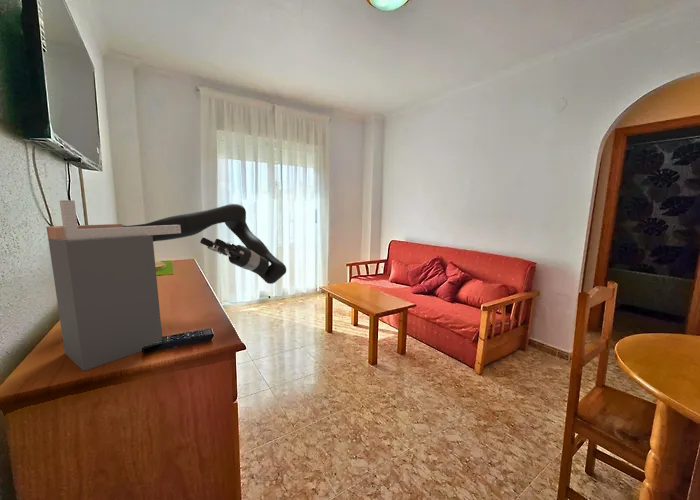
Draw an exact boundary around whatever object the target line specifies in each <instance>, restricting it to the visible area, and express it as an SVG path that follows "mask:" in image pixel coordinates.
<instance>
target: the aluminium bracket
mask: <svg viewBox="0 0 700 500" xmlns="http://www.w3.org/2000/svg"><path fill="white" fill-rule="evenodd" d="M59 206H60V214H61V220H62V226H63V230H64V237H65V240H67V241H72V240H87V239H102V238H117V237H132V236H147V235H161V234H176V233H181V227H180V225H161V226H138V227H115V228H93V229H78V225H79V224H78V219H77V218H78V216H77V210H76V202H75V200H71V199H69V200H68V199H67V200H66V199H65V200H64V199H63V200H62V199H61V200H59Z"/></svg>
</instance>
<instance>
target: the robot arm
mask: <svg viewBox="0 0 700 500" xmlns="http://www.w3.org/2000/svg"><path fill="white" fill-rule="evenodd" d="M246 220H247V211H246V208H245V207H244V205H241V204H239V203H230V204H225V205H223V206H218V207H215V208H211V209H207V210H202V211H201V210H200V211H195V212H189V213H184V214H178V215H173V216H167V217H164V218H160V219H157V220H153V221H150V222H147V223H146V222H145V223H141V224H132V225H124V224H122V226H123V227H138V226H161V225H180V227H181V233H176V234H161V235H150V236H153V243H154V242H160V241H168V240H175V239H181V238H186V237H190V236H191V237H192V236H195V235H197V234H199V233H201V232H203V231H205V230H206V229H208V228H210V227H212V226H214V225H218V224H222V223H224V225H226V227H227V228H228V229H229V230H230V231H231V232H232V233H233V234H234V235H235V236H236V237H237V238H238V239H239V241H241V243H242V244H243V245H244V246H243V245H242V244H235V243H229V242H225V240H221V239H219V238H215V240H214V241H212V240H211V239H208V238H206V237H202V238H201V239H200V242H199V243H200V244H201V245H204V246H206V247H207V249H208V250H211V251H214V252H216V253H218V254H219V255H223V256H226V257H228V261H229V262H230V263H231V264H232V265H235V266H237V267H239V268H240V269H244V270H246V271H250V272H252V273H254V274H256V275H258V276H259V277H260V278H261V279H262V280H263V281H264V282H265V283H267V284H269V285H273V284H275V283H277V281H279V280H280V279H281V278H282V277H283V276H284V275H286V273H287V267H286V265H285V264H284V262H283V261H281V260H279V259H278V258H277V257H275V256H274V255H273V254H272V252H270V250H269V249H268V247H267V245H266V244H265V243H264V242H263V241H262V240H261V239H260V238H259V237H257V236H256V235H255V234H253V232H252V231H251V230H250V228H249V226H248V224H247V221H246Z"/></svg>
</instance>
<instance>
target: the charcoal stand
mask: <svg viewBox="0 0 700 500" xmlns="http://www.w3.org/2000/svg"><path fill="white" fill-rule="evenodd" d="M122 225H123V223H110V224H83V225H81V224H80V225H79V224H78V229H93V228H115V227H123V226H122ZM46 234H47V239H48V247H49V248H48V249H49V253H50V254H49V255H50V261H51V266H52V274H53V281H54V288H55V295H56V301H57V308H58V309H57V310H58V315H59V316H58V317H59V322H60V323H59V324H60V330H61V335H62V343H63V350H64V354H65V355H66V356H67V357H68V358H69V359H70V360H71V361H72V362H73V363H74V364H75V365H77V366H78V368H79V369H81V371H83V372H85V371H88V370H91V369H94V368H96V367H100V366H102V365H105V364H108V363H111V362H113V361H114V362H115V361H117V360H120V359H123V358H125V357H126V358H127V357H129V356H131V355H135V354H137V353H140V352H143V351H142V348H143V347H144V346H146V345H148V344H151V343H153V342H156V341H159V340H161V339H162V340H163V332H162V321H161V311H160V299H159V291H158V277H157V268H156V267H157V266H156V258H155V246H154V242H153V236H150V235H147V236H132V237H117V238H102V239H87V240H72V241H67V240H65V237H64V230H63V225H57V226H56V225H52V226H51V225H50V226H49V225H48V226H46Z"/></svg>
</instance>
